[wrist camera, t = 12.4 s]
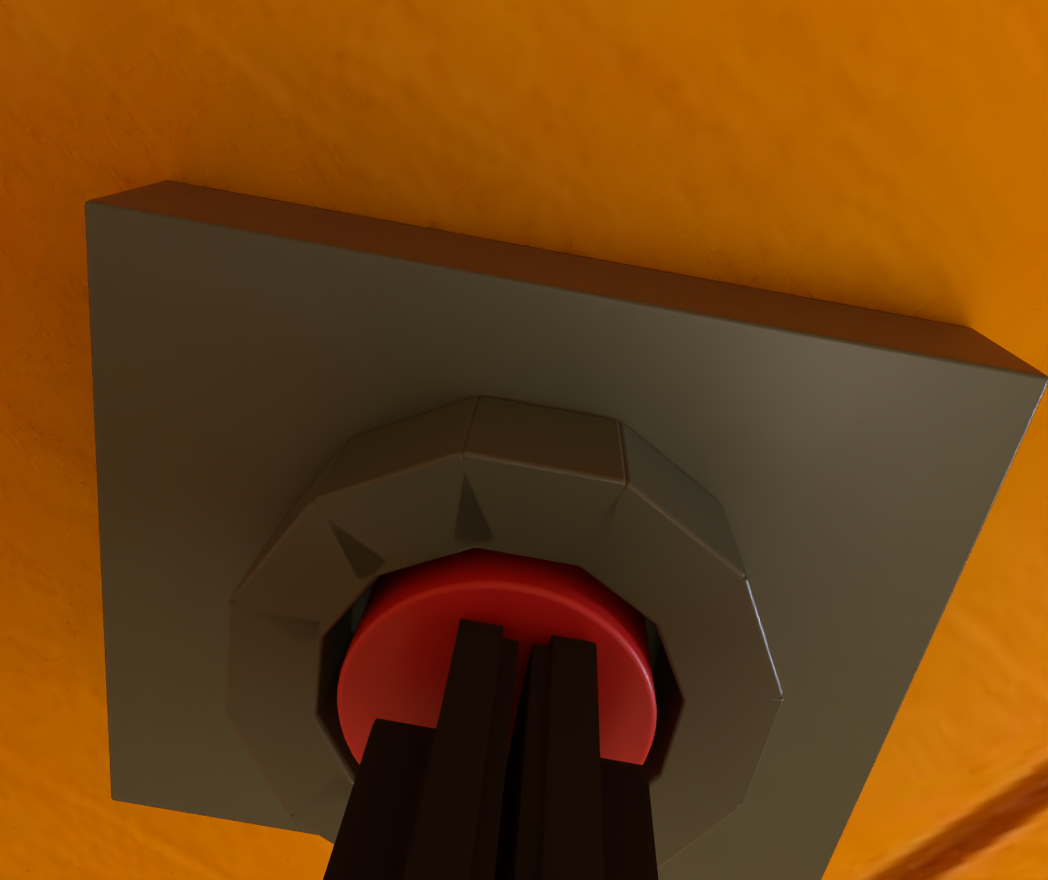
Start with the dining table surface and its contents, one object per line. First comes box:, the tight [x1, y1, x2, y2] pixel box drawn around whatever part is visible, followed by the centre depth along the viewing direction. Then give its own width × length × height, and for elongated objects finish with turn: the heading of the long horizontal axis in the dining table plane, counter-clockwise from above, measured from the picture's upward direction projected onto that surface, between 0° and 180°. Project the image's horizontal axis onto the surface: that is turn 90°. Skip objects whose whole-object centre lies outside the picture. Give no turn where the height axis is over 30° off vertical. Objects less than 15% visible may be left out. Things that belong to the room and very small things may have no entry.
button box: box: [85, 181, 1048, 880], centre depth 12 cm, size 12×10×4 cm
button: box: [337, 548, 657, 765], centre depth 11 cm, size 4×4×2 cm
